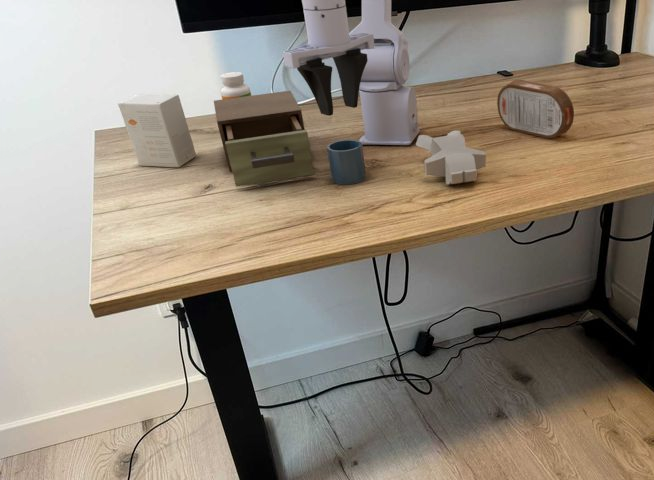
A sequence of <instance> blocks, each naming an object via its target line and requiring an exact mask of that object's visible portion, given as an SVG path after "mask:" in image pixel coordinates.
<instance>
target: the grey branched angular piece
mask: <svg viewBox="0 0 654 480" xmlns="http://www.w3.org/2000/svg"><path fill="white" fill-rule="evenodd" d="M415 145H416V146H417V147H419V148H422V149H425V150H427V151H430V157H428V158H425V159H424V174H425V175H426V176H432V177H442V178H445V184H446V185H448V186H449V185H456V184H463V183H469V182H475V181H478V170H480V169H483V168H486V167H487V166H486V165H487V154H486V151H483V150H479V149H476V148H471V147H467V146H466V139H465V136H464V135H463V134H462V133H461V131H460V130H452V131H449V132H448V133H447V135H443V136H436V137H432V136H430V135H427V134H420V135H418V137H417V139H416V143H415Z"/></svg>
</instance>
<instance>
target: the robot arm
mask: <svg viewBox="0 0 654 480" xmlns="http://www.w3.org/2000/svg"><path fill="white" fill-rule="evenodd" d="M301 3H302V4H301V5H302V9H303V15H304V22H305V29H306V34H307V43H304V44H302V45H300V46H296V47H294V48H291V49H288V50H284V51H282V56H283V61H284V66H285V68H289V69H294V70H295V69H296V70H297V71H298V72H299V74H300V75H301V77H302V78H303V79H304V81H305V82H306V85H308V88H309V89H310V91H311V93H312V95H313V97H314V100H315V101H316V104H317V107H318V109H319V112H320V114H321V115H324V116H328V117H330V116H333V115H334V104H333V103H334V102H333V96H332V75H333V67H332V66H331V65H327V64H326V63H325V62H323V61H324V60H328V59H331V58H332V60H333V62H334V65H335V67H336V70H337V74H338V77H339V81H340V86H341V87H340V88H341V93H342V100H343V103H344V106H345V107H349V108H353V109H355V108H358V102H359V101H360V107H361V115H362V123H363V131H364V133H363V135H362V136H361V137H360V138H359V140H358V141H360V142H361V143H362V145H373V146H374V145H376V146H377V145H379V146H410V145H411V144H412V143H413V141H414V140H415V139H416V137H417V136H418V134H419V133H420V130H421V129H420V128H419V116H418V114H419V113H418V101H417V94H416V90H415V88H414V87H413V86H406V85H404V84H405V83H406V82H407V81H408V80H409V75H410V67H411V66H410V65H411V64H410V55H409V44H408V39H407V37H406V35H405V34H404V33H403V31H402V30H400V29H399V28H398V27H396V25H394V24H393V23H392V0H361V21H360V23H359V24H357V25H356V26H355V27H354V28H353V29H352V30H351V31H350V28H349V27H350V26H349V20H348V12H347V5H346V0H301Z"/></svg>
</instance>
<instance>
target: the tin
mask: <svg viewBox="0 0 654 480" xmlns="http://www.w3.org/2000/svg"><path fill="white" fill-rule="evenodd" d="M496 101H497V102H496V104H497V112H498V115H499V118H500V120H501V121H502V123H503V124H504V125H505V126H506V127H507V128H508V129H510V130H511V131H515V132H518V133H519V132H520V133H522V134H523V133H524V134H527V135H532V136H536V137H539V138H544V139H548V140H549V139H554V138H557V137H560V136H561V135H564V134H566V133H567V132H568V131H569V130H570V128H571V127H572V126H573V122H574V118H575V109H574V105H573V102H572V99H571V98H570V96H569V95H568V93H567V92H565V90H564V89H562V88H561V87H559V86H556V85H551V84H546V83H541V82H537V81H530V80H525V79H515V80H514V79H513V80H512V81H511V82H510V83H507V84H505V85H504V86H503V87H502V88H501V89H500V90H499V93H498V95H497V100H496Z"/></svg>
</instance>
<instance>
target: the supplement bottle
mask: <svg viewBox="0 0 654 480" xmlns="http://www.w3.org/2000/svg"><path fill="white" fill-rule="evenodd" d="M220 79H221V83H222V85H223V87H222V88H220V96H221V100H222V99H230V98H238V97H245V96H252V92H251V88H250V86H249V85H248V84H245V83H244V82H245V78H244V73H242V72H241V71H231V72H224V73H222V74H221V75H220Z"/></svg>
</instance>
